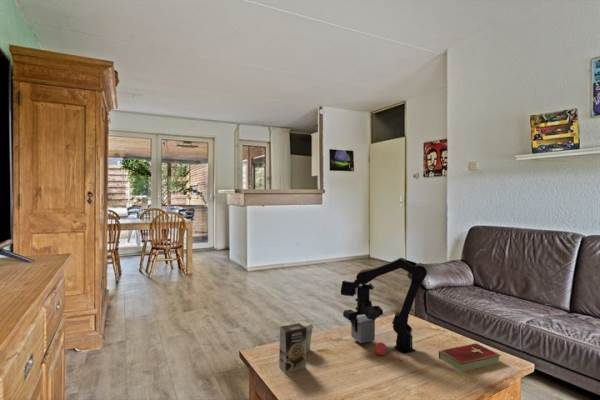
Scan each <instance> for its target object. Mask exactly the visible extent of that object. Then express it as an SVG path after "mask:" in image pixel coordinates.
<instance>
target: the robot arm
mask: <svg viewBox="0 0 600 400" xmlns="http://www.w3.org/2000/svg"><path fill="white" fill-rule="evenodd" d="M399 269H402V270H404V271H405V272H407V273H409V274H412V275H411V281H410V284H409V287H408V290H407V293H406V295H405V298H404V301H403V304H402V306H401V309H400V311H399V312H398V311H395V314H394V317H393V318H392V322H391V324H392V328H393V331H394V332H395V333H396V338H395V345H394V346H393V348H395V349H396V350H398V351H400V352H401V353H402V354H407V353H411V352H412V353H413V352H415V351H416V349H415V348H413V334H412V331H413V328H412V326H410V325H409V323H408V322H409V315H410V313H411V309H412V307H413V304H414V301H415V298H416V296H417V294H418V291H419V288H420V287H421V284H422V283H423V282H424V280H425V278H427V274H428V267H427V265H425V264H424V263H421V262H418V263H417V262H416V261H415V262H414V261H412V260H409V259H405V258H403V257H398V258H397V259H394V260H392V261H390V262H387V263H385V264H381V265H378V266H377V267H373V268H366V269H362V270H359V272H358V273H357V274H356V276H355V278H356V279H354V280H353V281H348V280H343V281H342V283H341V288H340V295H341V296H347V297H354V296H356V298H355V302H356V307H355V311H354V310H353V309H347V310H344V311H343V312H342V317H343V318H345V319H347V320H348V321H350V323H351V324H352V326H353V329H354V331H355V332H356V333H357V322H358V319H357V317H360V316H366V317H367V318H368V319H372V320H373V321H376V320H377V318H380V317H381V316H383V315H384V311H383V310H384V309H382V307H381V306H380V305H373V302H372V300H370V298H371V297H370V295H371V294H370V293H371V291H372V290H374V289H375V285H373V284H372V283H371V281H373V280H375V278H377V277H380V276H383V275H387V274H389V273H391V272H394V271H396V270H399ZM368 283H369V284H368Z"/></svg>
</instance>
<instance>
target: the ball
mask: <svg viewBox="0 0 600 400" xmlns="http://www.w3.org/2000/svg"><path fill="white" fill-rule="evenodd" d="M374 351H375V353H376V354H377V355H378V356H384V355H386V353H387V351H388V350H387V346H386V344H385V343H384V342H378V343H376V344H375V346H374Z"/></svg>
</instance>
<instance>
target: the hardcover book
mask: <svg viewBox="0 0 600 400" xmlns="http://www.w3.org/2000/svg"><path fill="white" fill-rule="evenodd" d="M500 357H501V354H500V353H498V352H496V351H493V350H491V349H489V348H487V347H485V346H483V345H481V344H479V343H470V344H466V345H465V344H464V345H461V346H456V347H451V348H446V349H441V350H438V359H440V360H442V361H443V362H445V363H447V364H448V365H449V366H450V365H451V366H452V367H453V368H455V369H456V370H458V371H460V372H466V371H469V370H474V369H478V368H483V367H486V366H491V365H495V364H500Z"/></svg>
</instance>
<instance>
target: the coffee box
mask: <svg viewBox="0 0 600 400" xmlns="http://www.w3.org/2000/svg"><path fill="white" fill-rule="evenodd" d="M306 333H307V328H306V327H305V326H303V325H301V324H300V323H297V324H295V323H293V324H287V325H283V326H279V357H278V358H279V360H278V361H279V362H278V367H279V368H280V369H281V370H282V372H284V374H289V373H293V372H298V371H300V370H304V369H307V353H306Z"/></svg>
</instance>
